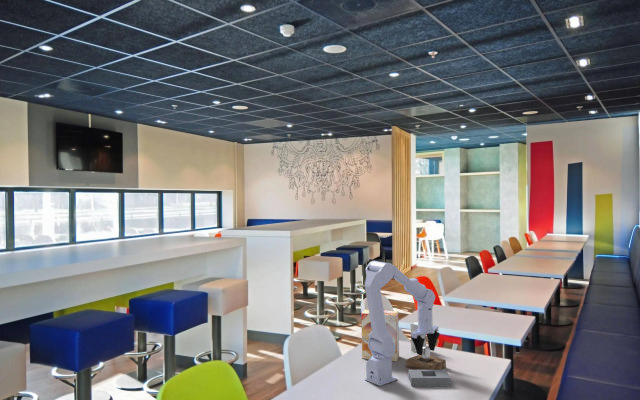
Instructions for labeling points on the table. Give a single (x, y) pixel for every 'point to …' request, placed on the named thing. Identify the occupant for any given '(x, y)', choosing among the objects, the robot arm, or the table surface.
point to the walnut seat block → (419, 365)
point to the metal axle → (426, 354)
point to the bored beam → (429, 378)
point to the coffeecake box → (392, 328)
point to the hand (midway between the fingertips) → (425, 352)
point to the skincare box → (413, 327)
